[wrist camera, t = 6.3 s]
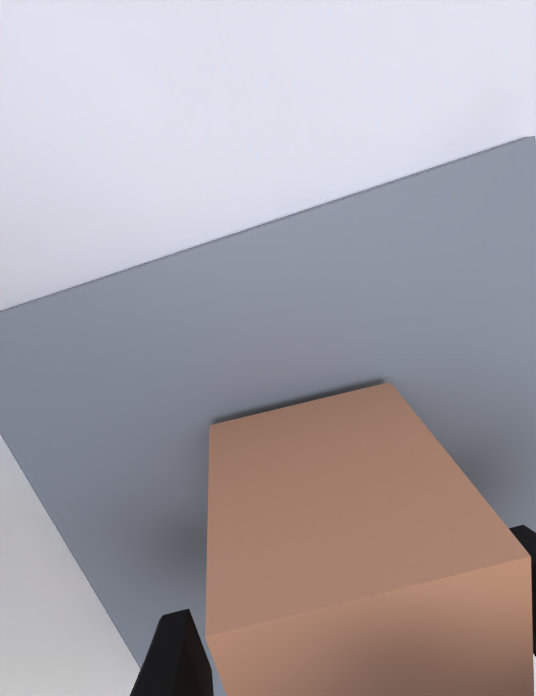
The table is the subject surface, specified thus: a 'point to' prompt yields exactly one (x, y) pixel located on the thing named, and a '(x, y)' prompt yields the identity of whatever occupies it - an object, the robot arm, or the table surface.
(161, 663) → the robot arm
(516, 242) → the flat grey square board
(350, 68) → the table surface
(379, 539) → the tan rectangular block
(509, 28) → the table surface
